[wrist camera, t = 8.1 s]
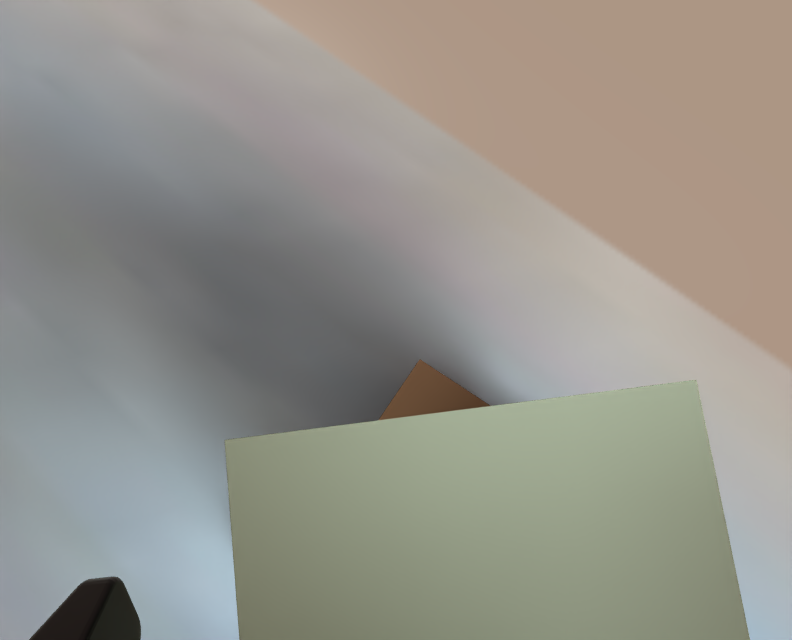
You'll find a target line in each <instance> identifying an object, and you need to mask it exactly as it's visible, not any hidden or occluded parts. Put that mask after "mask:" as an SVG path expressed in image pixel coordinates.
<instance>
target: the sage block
mask: <svg viewBox="0 0 792 640" xmlns="http://www.w3.org/2000/svg"><path fill="white" fill-rule="evenodd" d="M225 452H226V465H227V479H228V492H229V505H230V519H231V532H232V546H233V559H234V573H235V586H236V600H237V613H238V626H239V640H750V638H749V633H748V628H747V623H746V618H745V614H744V609H743V604H742V599H741V594H740V589H739V584H738V580H737V575H736V570H735V565H734V560H733V555H732V551H731V546H730V541H729V536H728V531H727V526H726V521H725V517H724V512H723V507H722V502H721V497H720V492H719V488H718V483H717V478H716V473H715V468H714V463H713V458H712V454H711V449H710V444H709V439H708V434H707V429H706V425H705V420H704V415H703V410H702V405H701V400H700V395H699V391H698V386H697V381H696V380H691V381H683V382H675V383H668V384H660V385H652V386H644V387H636V388H628V389H621V390H613V391H605V392H597V393H589V394H581V395H573V396H566V397H558V398H550V399H542V400H534V401H526V402H519V403H511V404H503V405H495V406H487V407H479V408H471V409H464V410H456V411H448V412H440V413H432V414H424V415H417V416H409V417H401V418H393V419H385V420H377V421H369V422H362V423H354V424H346V425H338V426H330V427H322V428H315V429H307V430H299V431H291V432H283V433H275V434H267V435H260V436H252V437H244V438H236V439H228V440H225Z"/></svg>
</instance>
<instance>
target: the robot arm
mask: <svg viewBox="0 0 792 640" xmlns="http://www.w3.org/2000/svg"><path fill="white" fill-rule="evenodd" d="M140 638H141V626H140V620H139V617H138V614H137V612H136V610H135V608H134V605H133V603H132V601H131V599H130V596H129V594H128V592H127V590H126V587H125V585H124V583H123V582H122V580H121V579H119V578H118V577H104V578H95V579H88V580H86V581H84V582H83V583H81V584H80V585H79V586H78V587H77V588H76V589H75V590H74V591H73V592H72V593H71V594H70V596H69V597H68V598H67V599H66V600H65V601H64V602H63V603H62V604H61V605H60V606H59V608H58V609H57V610H56V611H55V612H54V613H53V614H52V615H51V616H50V617H49V618H48V620H47V621H46V622H45V623H44V624H43V625H42V626H41V627H40V628H39V629H38V630H37V632H36V633H35V634H34V635H33V636H32V637H31V638H30V639H29V640H140Z"/></svg>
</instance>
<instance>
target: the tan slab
mask: <svg viewBox="0 0 792 640" xmlns="http://www.w3.org/2000/svg"><path fill="white" fill-rule="evenodd" d="M487 406H490V405H489V404H487V403H486V402H484V401H482V400H481V399H479V398H478V397H476V396H475V395H473V394H472V393H470V392H469V391H467V390H466V389H464V388H463V387H461V386H460V385H458V384H457V383H455V382H454V381H452V380H451V379H449V378H448V377H446V376H445V375H443V374H442V373H440V372H438V371H437V370H435V369H434V368H432V367H431V366H429V365H428V364H426V363H425V362H423V361H422V360H419V361H418V363H417V364H416V366H415V367H414V368H413V370H412V371H411V373H410V374H409V376H408V377H407V379H406V380H405V382H404V383H403V385H402V386H401V388H400V389H399V391H398V392H397V393H396V395H395V396H394V398H393V399H392V401H391V402H390V404H389V405H388V407H387V408H386V410H385V411H384V413H383V414H382V416H381V417H380V418H379V420H385V419H393V418H401V417H409V416H417V415H424V414H432V413H440V412H448V411H456V410H464V409H471V408H479V407H487Z"/></svg>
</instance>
